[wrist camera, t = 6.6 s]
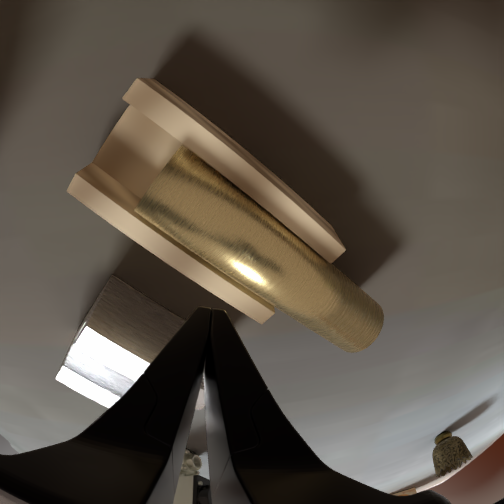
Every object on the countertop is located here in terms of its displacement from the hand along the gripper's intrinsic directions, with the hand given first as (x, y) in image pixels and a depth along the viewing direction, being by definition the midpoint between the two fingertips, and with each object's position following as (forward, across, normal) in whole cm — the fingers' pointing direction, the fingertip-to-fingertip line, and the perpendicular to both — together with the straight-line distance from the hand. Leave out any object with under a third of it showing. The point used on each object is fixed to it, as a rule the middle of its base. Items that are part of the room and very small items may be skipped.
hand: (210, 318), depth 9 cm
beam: (+10, +1, 0) cm, 11 cm away
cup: (+12, -45, +36) cm, 59 cm away
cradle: (+10, +5, +13) cm, 17 cm away
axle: (+10, -3, +2) cm, 10 cm away
